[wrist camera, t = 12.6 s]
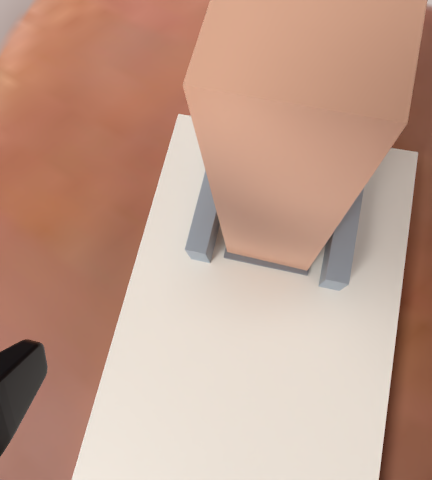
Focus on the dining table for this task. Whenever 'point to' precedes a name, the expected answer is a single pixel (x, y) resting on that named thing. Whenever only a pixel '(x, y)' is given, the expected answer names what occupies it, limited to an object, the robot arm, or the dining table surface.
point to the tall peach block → (298, 113)
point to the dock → (251, 342)
